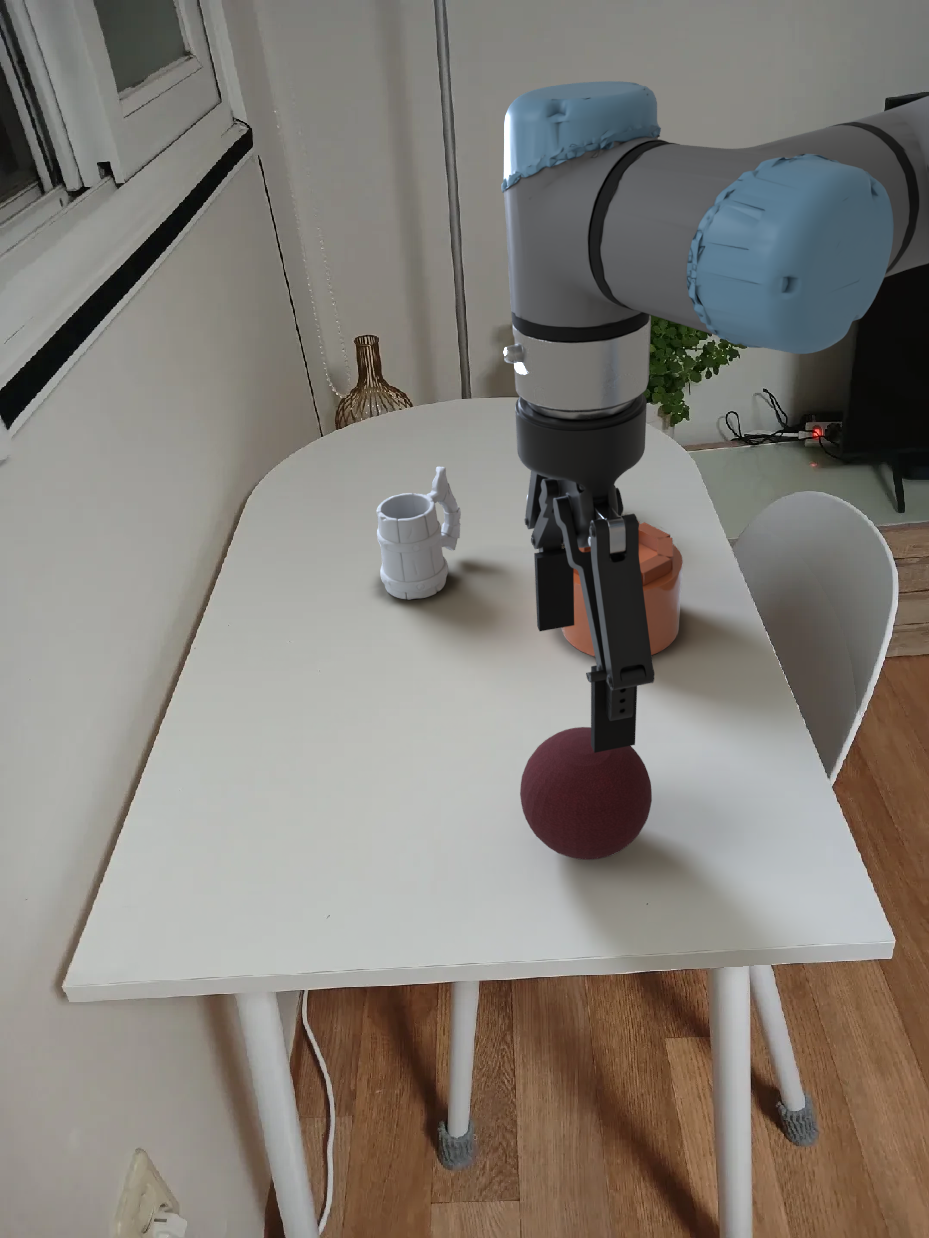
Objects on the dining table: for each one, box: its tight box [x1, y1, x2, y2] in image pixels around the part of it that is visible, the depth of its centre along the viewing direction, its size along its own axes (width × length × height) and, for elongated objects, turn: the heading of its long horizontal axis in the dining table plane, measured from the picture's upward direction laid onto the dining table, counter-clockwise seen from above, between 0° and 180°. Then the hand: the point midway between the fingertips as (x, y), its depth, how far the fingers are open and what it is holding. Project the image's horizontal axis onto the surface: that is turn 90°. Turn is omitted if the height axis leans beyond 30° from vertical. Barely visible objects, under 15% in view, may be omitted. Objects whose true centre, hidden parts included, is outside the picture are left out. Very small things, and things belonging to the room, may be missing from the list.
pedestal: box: [561, 520, 684, 657], centre depth 96 cm, size 12×12×10 cm
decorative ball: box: [519, 726, 653, 861], centre depth 73 cm, size 10×10×10 cm
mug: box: [376, 465, 462, 600], centre depth 106 cm, size 8×12×12 cm, turn 140°
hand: (581, 680), depth 67 cm, fingers open, 13 cm apart
